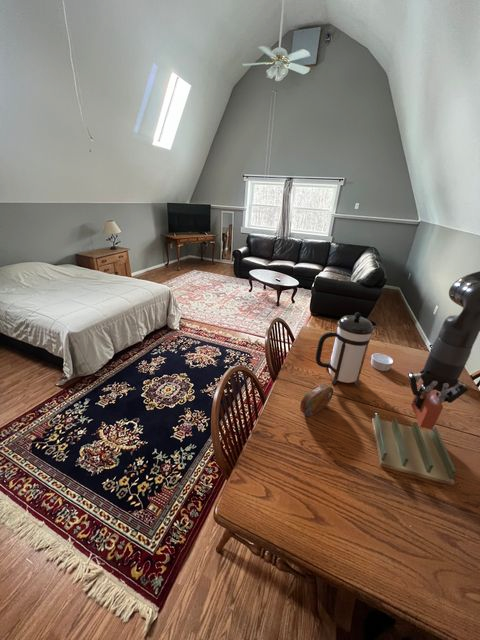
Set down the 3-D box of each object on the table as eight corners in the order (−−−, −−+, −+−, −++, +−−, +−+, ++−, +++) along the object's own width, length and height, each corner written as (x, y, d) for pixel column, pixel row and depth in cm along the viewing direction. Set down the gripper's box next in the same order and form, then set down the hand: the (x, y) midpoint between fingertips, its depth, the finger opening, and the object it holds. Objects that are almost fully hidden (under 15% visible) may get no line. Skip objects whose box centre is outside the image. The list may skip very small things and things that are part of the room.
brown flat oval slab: (303, 420, 90) (307, 400, 87) (296, 414, 93) (300, 395, 89) (331, 403, 99) (335, 384, 95) (324, 398, 101) (328, 379, 97)
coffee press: (335, 362, 123) (349, 301, 110) (368, 380, 112) (387, 315, 99) (311, 375, 113) (323, 310, 100) (344, 396, 102) (363, 326, 89)
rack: (431, 434, 87) (435, 424, 85) (453, 486, 71) (459, 475, 70) (371, 420, 92) (374, 410, 90) (380, 465, 76) (384, 455, 74)
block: (422, 407, 80) (431, 385, 76) (432, 429, 72) (443, 407, 68) (411, 404, 80) (420, 383, 77) (419, 426, 73) (430, 404, 69)
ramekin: (366, 360, 126) (368, 352, 124) (385, 361, 126) (387, 353, 124) (374, 371, 118) (376, 363, 116) (394, 372, 118) (397, 364, 116)
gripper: (421, 358, 66) (400, 411, 73) (488, 370, 63) (459, 425, 70) (413, 344, 73) (394, 394, 80) (473, 354, 69) (448, 405, 76)
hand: (425, 408), depth 75 cm, fingers closed on block, 3 cm apart
